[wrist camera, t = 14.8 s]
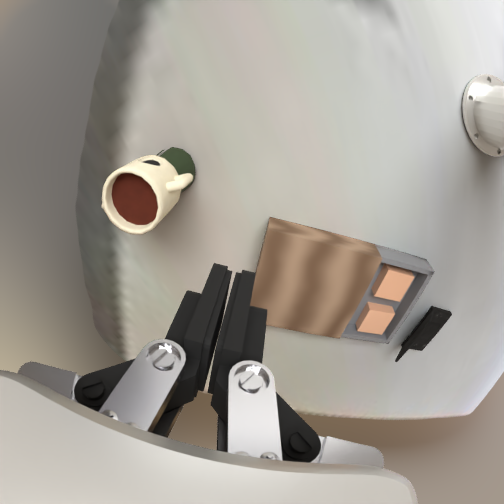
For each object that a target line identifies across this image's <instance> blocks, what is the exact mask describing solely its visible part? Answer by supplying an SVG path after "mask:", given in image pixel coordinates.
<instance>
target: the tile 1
mask: <svg viewBox="0 0 504 504" xmlns="http://www.w3.org/2000/svg"><path fill="white" fill-rule="evenodd" d="M394 315H395V312H394V310H393V307H392V306H388V305H383V304H377V303H372V302H367V303H366V305H365V307H364V309H363V311H362V312H361V314H360V316H359V318H358V320H357V321H356V327H357V331H360V332H366V333H373V334H380V335H382V334H383V332H384V331H385V329H386V328H387V326H388V325H389V323H390V322H391V320H392V318H393V317H394Z"/></svg>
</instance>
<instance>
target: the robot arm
mask: <svg viewBox="0 0 504 504" xmlns="http://www.w3.org/2000/svg"><path fill="white" fill-rule="evenodd" d="M462 110H463V119H464V123H465V127H466V130H467V132H468V134H469V137H470V138H471V140H472V142H473V143H474V144H475V145H476V147H477V148H478V149H479V150H481V151H482V152H484V153H486V154H488V155H490V156H494V157H499V156H503V155H504V82H503V81H502V80H500V79H499V78H497V77H495V76H493V75H487V74H483V75H478V76H475V77H474V78H473V79H471V81H470V82H469V83H468V85H467V87H466V89H465V92H464V96H463V103H462ZM227 268H228V266H224V265H220V264H216V263H214V265H213V267H212V269H211V272H210V274H209V277H208V279H207V282H206V284H205V287H204V289H203V292H202V294H200V293H196V292H192V291H187V292H186V294H185V296H184V298H183V300H182V302H181V304H180V307H179V309H178V311H177V313H176V315H175V317H174V320H173V322H172V324H171V326H170V329H169V331H168V333H167V335H166V338H165V339H158V340H153V341H151V342H149V343H148V344H147V345H146V346H145V347H144V348H143V349H142V350H141V352H140V353H139V355H138V356H137V357H136V359H133V360H130V361H127V362H124V363H121V364H118V365H115V366H112V367H109V368H105V369H102V370H99V371H96V372H92V373H89V374H86V375H84V376H79V375H77V373H76V372H72V371H67V370H63V369H59V368H55V367H52V366H48V365H44V364H40V363H37V362H28V363H25V364H24V365H22V366H21V368H20V369H19V371H18V373H14V372H10V371H4V370H0V504H418V501H417V496H416V493H415V490H414V488H413V486H412V484H411V483H410V482H409V480H408V479H406V478H405V477H403V476H402V475H400V474H398V473H395V472H392V471H390V470H387V469H383V468H384V457H383V455H382V454H381V452H380V451H379V450H378V449H376V448H374V447H371V446H366V445H362V444H357V443H353V442H349V441H345V440H341V439H336V438H333V437H329V436H327V437H325V438H324V437H320V436H318V435H317V434H316V432H315V431H314V430H313V429H312V428H311V427H310V426H309V425H308V424H307V423H306V422H305V421H304V420H303V419H302V418H301V417H300V416H299V415H298V414H297V413H296V412H295V411H294V410H293V409H292V408H291V407H290V406H289V405H288V404H287V403H286V402H285V401H284V400H283V399H282V398H281V397H280V396H279V395H278V393H277V392H276V390H275V380H274V376H273V374H272V372H271V371H270V369H269V368H267V367H266V366H265V365H263V364H262V358H263V349H264V340H265V331H266V322H267V309H263V308H259V307H254V306H250V303H251V298H252V292H253V286H254V281H255V275H256V273H254V272H249V271H245V270H242V273H238V272H236V275H235V278H234V282H233V286H232V289H231V293H230V297H229V300H228V304H227V308H226V311H225V315H224V310H225V304H226V299H227V294H228V289H229V284H230V279H231V274H232V271H229V270H227ZM223 315H224V319H223ZM222 320H223V322H222ZM221 324H222V326H221ZM220 328H221V330H220ZM219 331H220V333H219ZM218 335H219V337H218ZM217 339H218V341H217ZM216 343H217V345H216ZM215 346H216V349H215ZM214 350H215V355H214V360H213V365H212V371H211V377H210V382H209V388H208V393H211V394H213V396H212V401H211V406H212V407H213V408H214V410H215V411H216V412H217V414H218V420H217V421H218V422H217V450H211V449H208V448H203V447H199V446H195V445H191V444H187V443H183V442H180V441H176V440H173V439H169V438H168V436H169V434H170V432H171V430H172V428H173V426H174V425H175V423H176V421H177V418H178V416H179V414H180V413H181V411H182V409H183V406H184V404H186V403H188V402H191V401H193V400H194V397H196V396H197V392H198V390H199V391H204V387H205V383H206V380H207V376H208V372H209V368H210V365H211V361H212V357H213V354H214Z"/></svg>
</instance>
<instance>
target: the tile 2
mask: <svg viewBox="0 0 504 504" xmlns="http://www.w3.org/2000/svg"><path fill="white" fill-rule="evenodd" d="M413 279H414V275H413V273H412V271H411V270H409V269H405V268H401V267H397V266H394V265H390V264H386V263H384V265H383V267H382V269H381V271H380V273H379V275H378V277H377V279H376V281H375V283H374V285H373V286H372V291H373V294H374V296H376V297H380V298H385V299H389V300H394V301H399V302H400V301H401V299H402V298H403V296H404V294H405V293H406V291H407V289H408V287H409V286H410V284H411V282H412V281H413Z"/></svg>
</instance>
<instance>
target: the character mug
mask: <svg viewBox="0 0 504 504" xmlns="http://www.w3.org/2000/svg"><path fill="white" fill-rule="evenodd" d="M162 151H164V150H162ZM162 151H161V152H162ZM161 152H160V153H161ZM160 153H158V154H157V155H147V156H143V157H141V158H139V159H136V160H134V161H132V162H131V163H129V164H127V165H125V166H123V167H121V168H120V169H118V170H116V171H114V172H113V173H112V174H111V175H110V176H109V177H108V178H107V180H106V182H105V184H104V186H103V193H102V201H103V203H102V208H103V209H104V211H105V212H106V214H107V216H108V217H109V219H110V221H111V222H112V223H113V224H114V225H115V226H117V227H118V228H119V229H120V230H122V231H124V232H127V233H129V234H140V235H142V234H144V233H147V232H149V231H151V230H153V229H154V228H155V227H156V226H157V224H158V223H159V222H160V221H161V220H162V219H163V218H164V217H165V216H166V215H167V214H168V212H169V211H170V210H171V209H172V208H173V207H174V206H175V204H176V203H177V202H178V200H179V197H180V193H181V192H182V191H184V190H185V189H186V188H188V187H189V186H190V185H191V184H192V182H193V180H194V177H195V165H194V162H193V160H192V158H191V156H190V155H189V154H188V153H187V152H185V151H184V150H183V149H179V148H174V147H172V148H170V149H168V150H167V151H165V152H164V153H163V154H162V155H161V156H158V155H159V154H160Z"/></svg>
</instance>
